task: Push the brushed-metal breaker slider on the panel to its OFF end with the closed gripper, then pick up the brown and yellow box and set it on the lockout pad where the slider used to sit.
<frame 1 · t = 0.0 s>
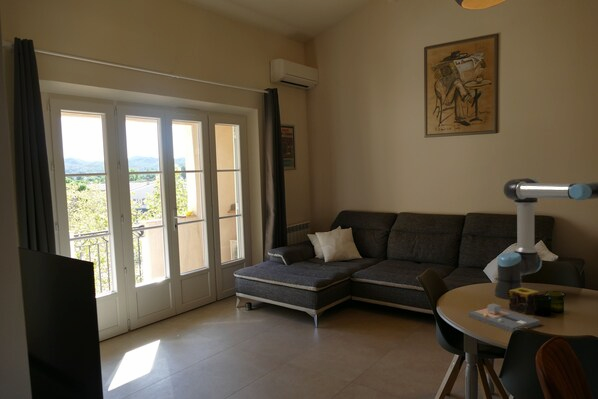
breaker slider: (493, 308, 203), point 4 cm above the table, slide at 0.0 cm
brown and yellow box: (524, 310, 212), on the table
breaker panel: (503, 320, 198), on the table
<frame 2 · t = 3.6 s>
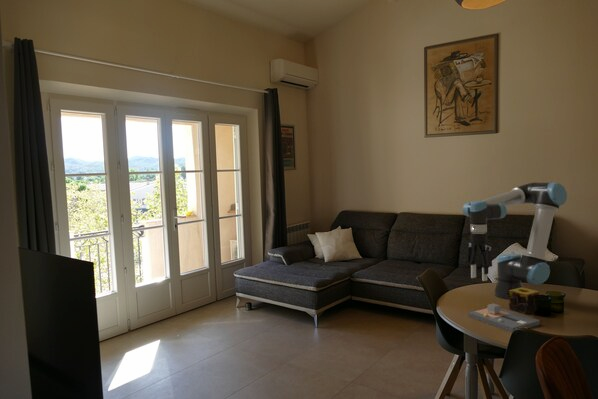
hand: (479, 278, 210), 17 cm above the table, tool pointing down, fingers open, 6 cm apart
nothing on the table moved.
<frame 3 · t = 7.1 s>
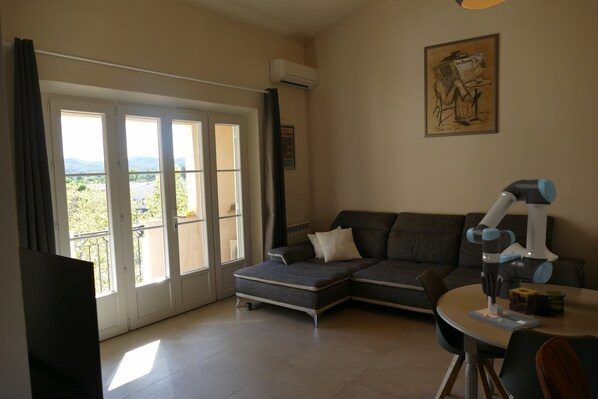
hand: (491, 309, 204), 4 cm above the table, tool pointing down, fingers closed
breaker slider: (496, 309, 201), point 4 cm above the table, slide at 1.5 cm, touching gripper
everything else where it was.
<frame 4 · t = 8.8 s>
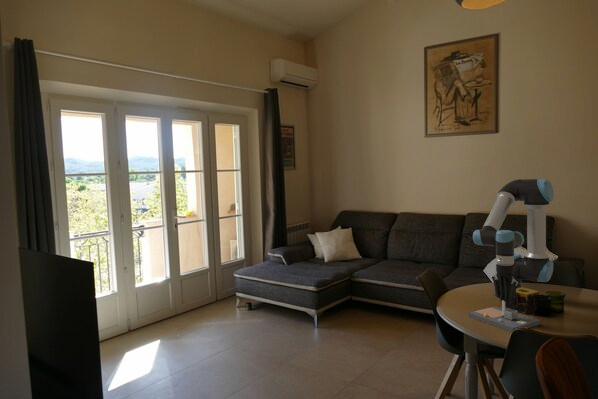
hand: (505, 314, 197), 3 cm above the table, tool pointing down, fingers closed
breaker slider: (510, 314, 195), point 4 cm above the table, slide at 9.0 cm, touching gripper
everything else where it was.
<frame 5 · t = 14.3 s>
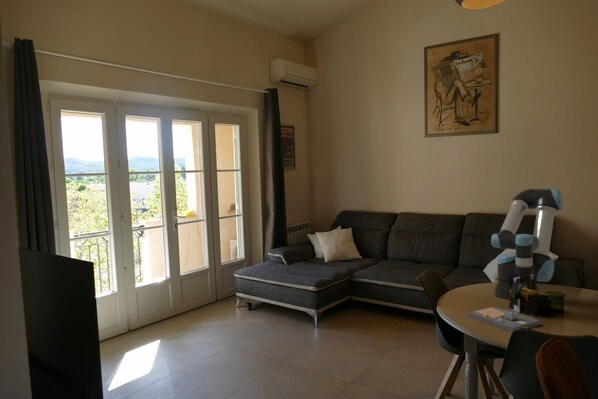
hand: (524, 309, 212), 0 cm above the table, tool pointing down, fingers closed on brown and yellow box, 10 cm apart
breaker slider: (510, 314, 194), point 4 cm above the table, slide at 9.2 cm
brown and yellow box: (524, 310, 212), on the table, touching gripper
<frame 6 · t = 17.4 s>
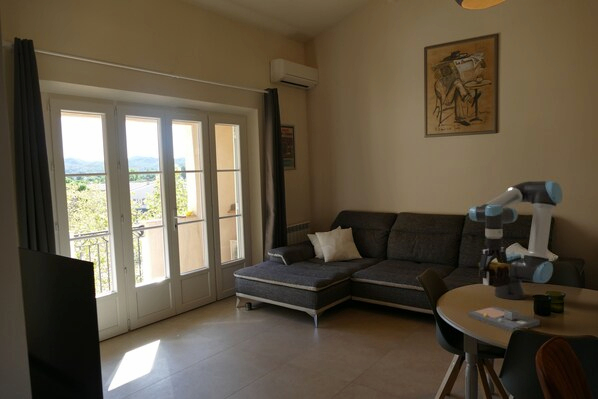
hand: (493, 283, 203), 16 cm above the table, tool pointing down, fingers closed on brown and yellow box, 10 cm apart
brown and yellow box: (494, 284, 203), point 16 cm above the table, touching gripper
everything else where it was.
when the fingers open (4 cm above the table, at t = 20.3 s): brown and yellow box drops 2 cm, resting on breaker panel.
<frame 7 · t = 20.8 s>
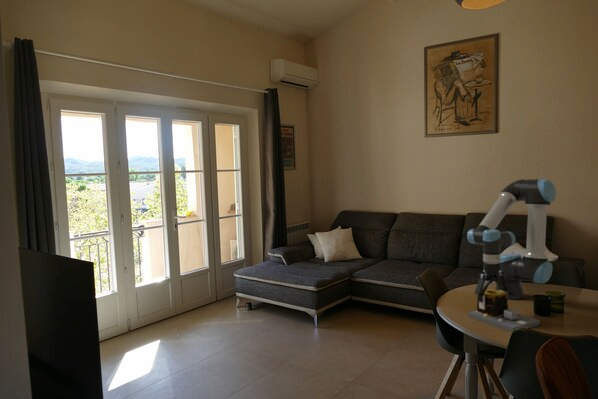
hand: (492, 306, 204), 5 cm above the table, tool pointing down, fingers open, 13 cm apart
brown and yellow box: (492, 312, 204), point 2 cm above the table, touching breaker panel
everything else where it was.
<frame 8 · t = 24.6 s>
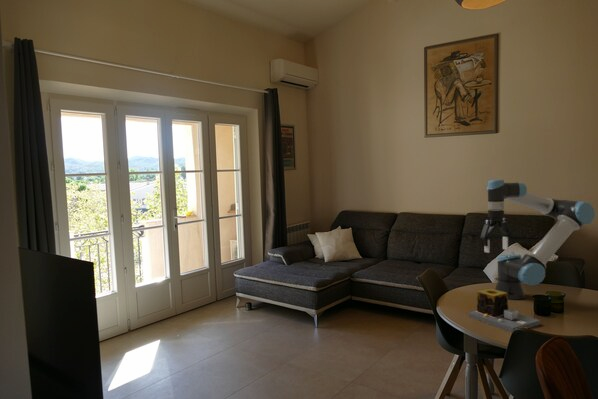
hand: (496, 250, 219), 29 cm above the table, tool pointing down, fingers open, 13 cm apart
nothing on the table moved.
at the end: breaker slider slide at 9.2 cm; brown and yellow box 0.1 cm from the target spot on the breaker panel, point 1.9 cm above the breaker panel's base; brown and yellow box tilted 0° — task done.
